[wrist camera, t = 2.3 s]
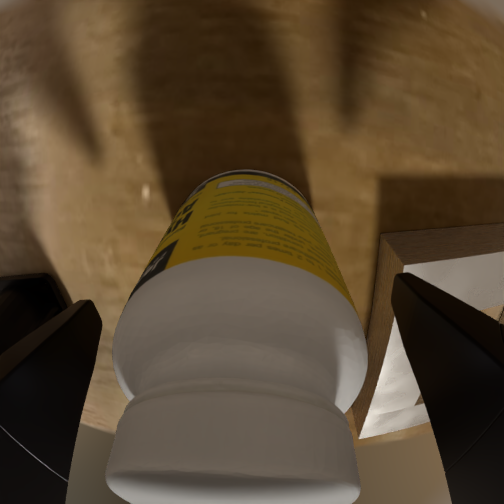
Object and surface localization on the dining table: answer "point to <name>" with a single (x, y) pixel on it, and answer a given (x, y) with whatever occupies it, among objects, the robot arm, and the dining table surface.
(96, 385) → the dining table surface
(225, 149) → the dining table surface
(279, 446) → the supplement bottle
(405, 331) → the robot arm
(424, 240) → the frame
